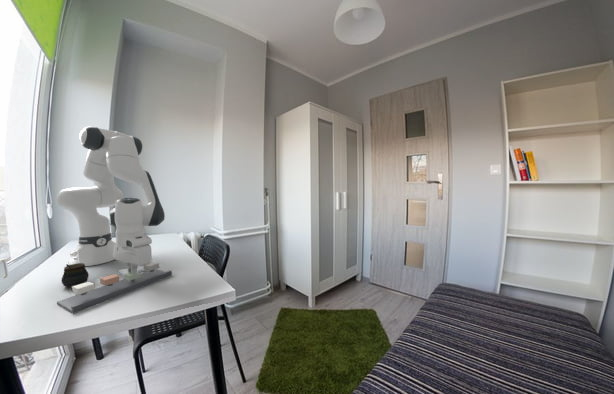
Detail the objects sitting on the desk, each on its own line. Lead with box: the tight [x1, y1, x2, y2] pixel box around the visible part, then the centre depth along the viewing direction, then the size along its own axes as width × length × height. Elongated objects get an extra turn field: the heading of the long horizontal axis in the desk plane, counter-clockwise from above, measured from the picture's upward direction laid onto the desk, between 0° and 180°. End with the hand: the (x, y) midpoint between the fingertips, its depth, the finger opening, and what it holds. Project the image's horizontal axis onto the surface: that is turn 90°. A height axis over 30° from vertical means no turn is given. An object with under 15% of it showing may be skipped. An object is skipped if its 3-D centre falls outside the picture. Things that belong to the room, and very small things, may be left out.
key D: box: [123, 271, 142, 282], centre depth 83 cm, size 4×4×3 cm
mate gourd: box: [61, 263, 90, 288], centre depth 83 cm, size 7×8×10 cm
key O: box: [71, 281, 95, 295], centre depth 71 cm, size 4×4×3 cm
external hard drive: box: [118, 261, 152, 277], centre depth 98 cm, size 2×8×12 cm
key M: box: [144, 261, 160, 272], centre depth 90 cm, size 4×4×3 cm
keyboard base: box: [56, 269, 173, 315], centre depth 80 cm, size 13×30×2 cm, turn 155°
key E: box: [99, 273, 120, 286], centre depth 77 cm, size 4×4×3 cm
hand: (132, 272), depth 83 cm, fingers closed, pressing on key D
